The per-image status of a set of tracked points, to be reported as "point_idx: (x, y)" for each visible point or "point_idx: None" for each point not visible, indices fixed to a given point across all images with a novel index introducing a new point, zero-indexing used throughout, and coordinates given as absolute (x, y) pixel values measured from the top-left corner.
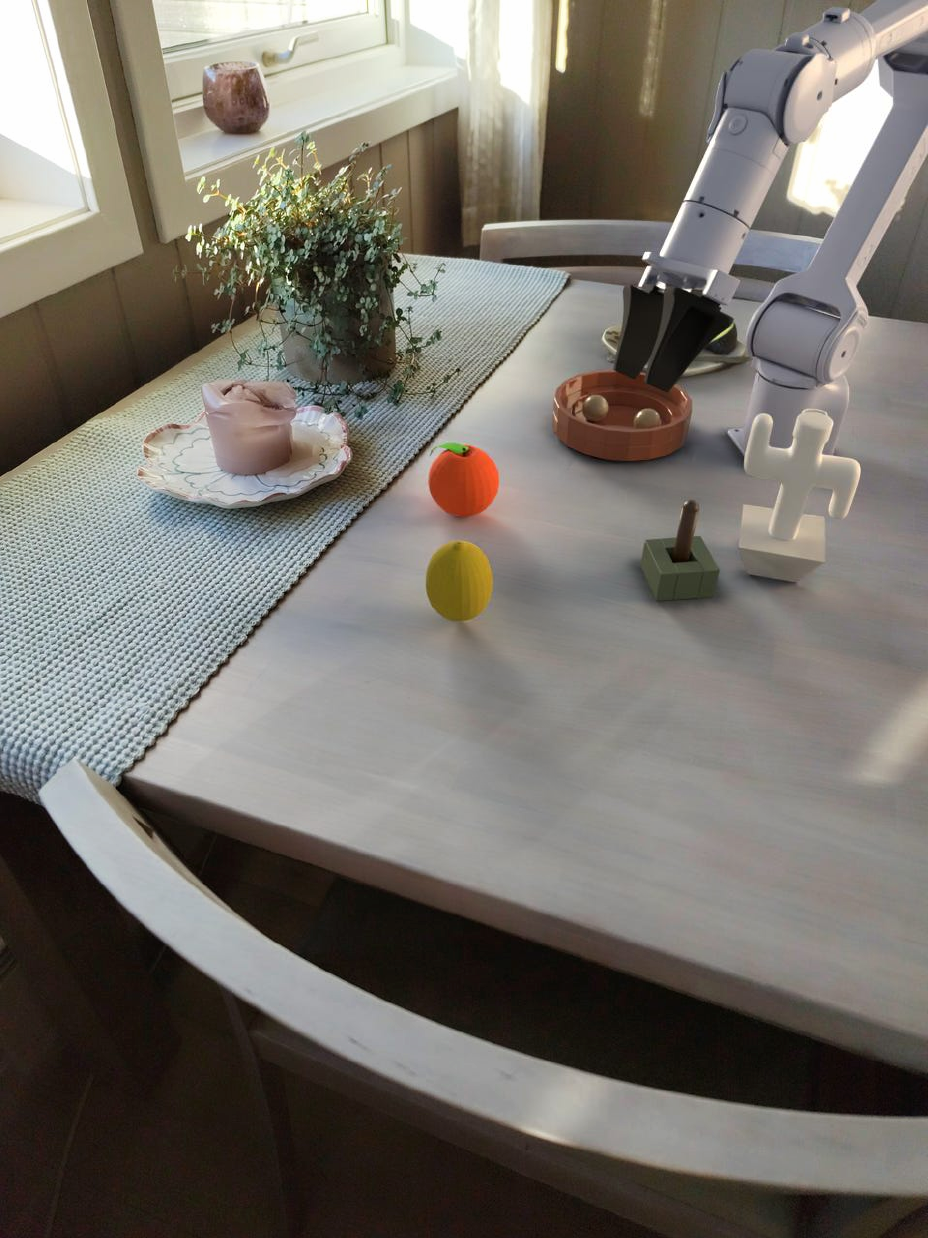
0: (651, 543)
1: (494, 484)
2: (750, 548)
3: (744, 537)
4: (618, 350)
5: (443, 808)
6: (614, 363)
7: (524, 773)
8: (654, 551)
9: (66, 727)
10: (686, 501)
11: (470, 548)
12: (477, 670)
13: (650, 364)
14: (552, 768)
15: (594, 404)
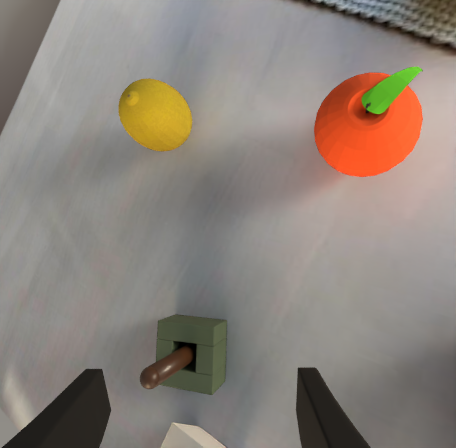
0: (206, 331)
1: (335, 164)
2: (167, 434)
3: (187, 440)
4: (320, 399)
5: (36, 121)
6: (315, 375)
7: (46, 169)
8: (192, 329)
9: None
10: (150, 375)
11: (130, 110)
12: (125, 146)
13: (65, 393)
14: (46, 187)
15: None
